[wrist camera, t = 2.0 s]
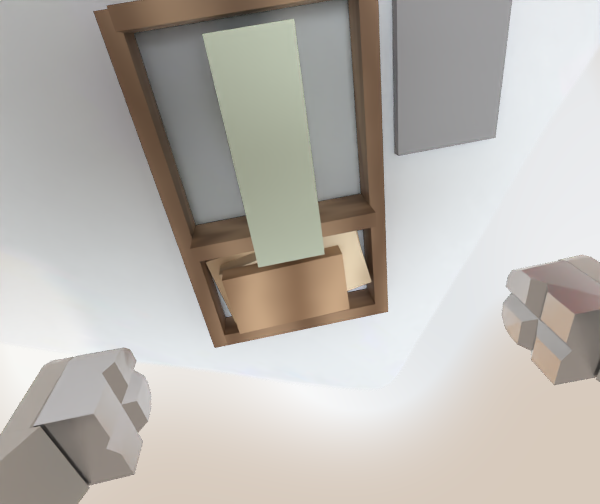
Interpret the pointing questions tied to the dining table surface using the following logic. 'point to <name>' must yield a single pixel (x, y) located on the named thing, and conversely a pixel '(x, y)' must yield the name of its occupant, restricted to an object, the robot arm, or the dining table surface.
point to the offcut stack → (290, 284)
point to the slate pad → (447, 71)
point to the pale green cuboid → (268, 137)
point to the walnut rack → (235, 232)
